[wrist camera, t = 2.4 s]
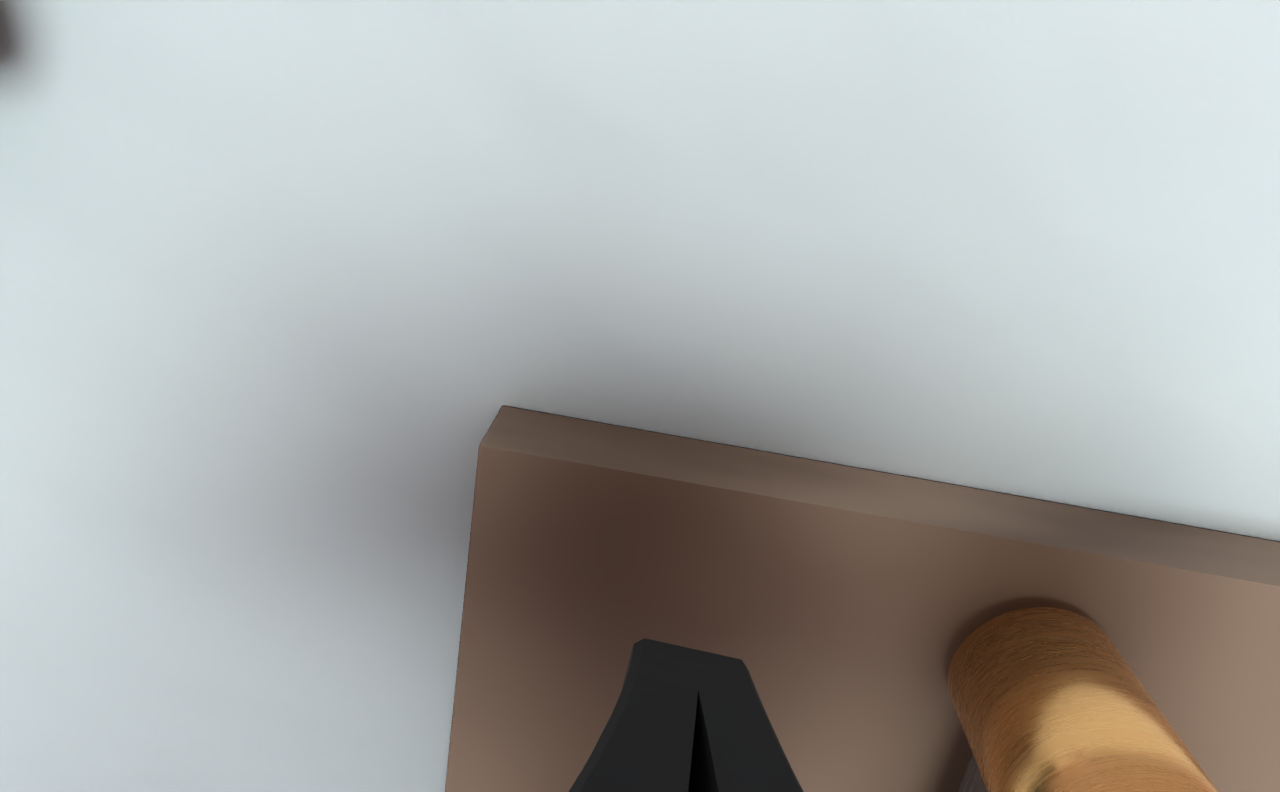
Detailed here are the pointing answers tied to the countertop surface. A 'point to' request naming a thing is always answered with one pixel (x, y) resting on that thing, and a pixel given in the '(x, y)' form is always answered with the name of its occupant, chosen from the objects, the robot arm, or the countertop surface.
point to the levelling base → (823, 605)
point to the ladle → (1061, 712)
